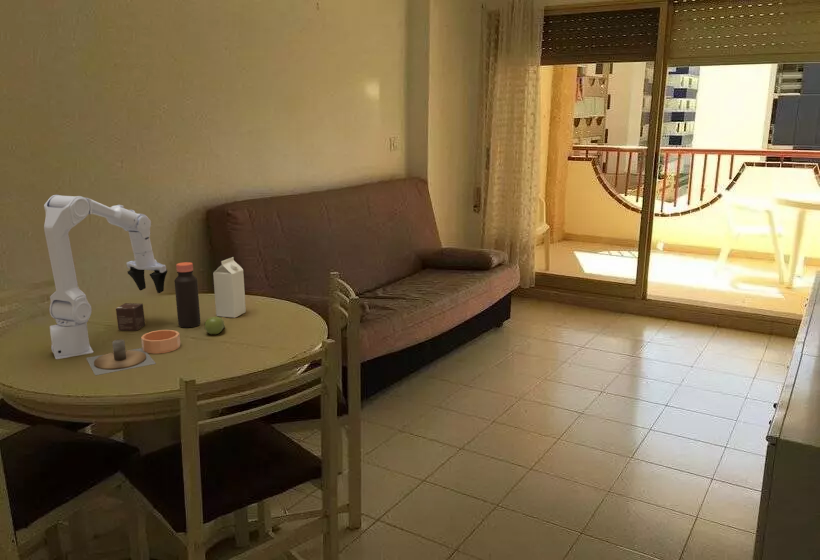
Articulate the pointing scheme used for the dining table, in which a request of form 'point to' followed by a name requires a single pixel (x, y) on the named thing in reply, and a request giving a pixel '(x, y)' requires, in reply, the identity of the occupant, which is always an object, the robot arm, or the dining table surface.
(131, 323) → the box
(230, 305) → the milk carton
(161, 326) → the dining table surface
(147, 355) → the mat
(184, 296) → the bottle
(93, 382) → the dining table surface
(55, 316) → the robot arm
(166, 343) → the bowl
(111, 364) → the lid
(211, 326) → the pear
